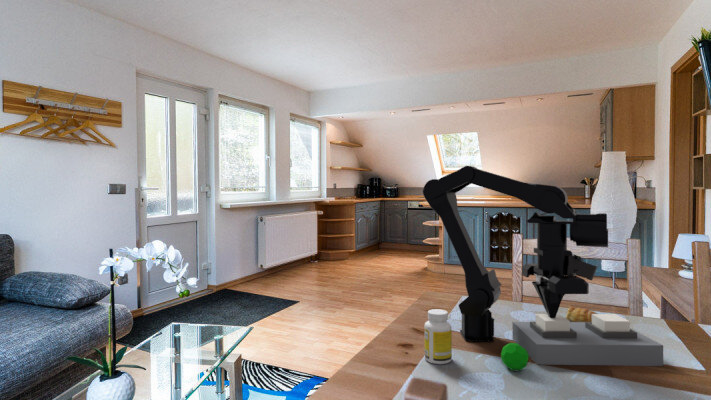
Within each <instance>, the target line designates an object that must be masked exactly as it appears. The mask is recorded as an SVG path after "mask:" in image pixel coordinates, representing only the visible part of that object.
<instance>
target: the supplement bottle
mask: <svg viewBox="0 0 711 400" xmlns="http://www.w3.org/2000/svg"><path fill="white" fill-rule="evenodd" d="M427 319H428V320H427V321H425V323H424V327H423V328H424V359H425V360H426V362H429V363H431V364H435V365H445V364H449V363H450V362H451V361H452V357H453V355H452V354H453V353H452V351H453V350H452V346H453V343H452V335H453V334H452V325H451V323H450V322H449V321H448V319H449V313H448V311H447V310H445V309H439V308H435V309H433V308H432V309H429V310H428V311H427Z"/></svg>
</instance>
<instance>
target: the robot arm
mask: <svg viewBox="0 0 711 400" xmlns="http://www.w3.org/2000/svg"><path fill="white" fill-rule="evenodd" d="M469 185H475V186H478V187H482V188H484V189H488V190H491V191H494V192H497V193H501V194H504V195H507V196H509V197H514V198H517V199H518V200H521V201H523V202H524V203H526V204H527V205H529V206H531V207H532V208H535V209H536V210H538V211H540V212H543V213H545V214H555V215H558V216H559V217H561V218H562V219H571V220H562V219H561V220H556V219H557V218H556V216H555V215H543V214H542V215H541V214H540V212H538V211H535V212H534V213H533V214H532V215H531V217H530V218H528V219H526V222H527V224H536V247H533V253H534V254H536V258H537V259H536V262H535V263H532V262H531V263H529V262H528V263H525V264H524V265H523V266H522V267H521V275H522V276H523V277H525V278H530V276H535V281H531V284H532V285H533V287H534V289H535V291H536V293H537V295H538V297H539V299H540V301H541V303H542V305H543V308H544V309H545V312H546V314H548V316H549V317H550V318H555V317H556V314H558V311H559V309H560V305H561V303H562V301H563V298H564V296H566V295H588V294H589V292H590V291H589V287H590V285H589V283H588V282H587V281H588V280H589V281H593V279H594V277H595V274H596V271H597V268H598V266H596V265H593V264H591V263H588V262H585V261H582V257H581V256H580V255H577V254H574V253H573V252H572V250H569V249H567V248H568V243H567V242H568V239H567V238H568V225H569V240H570V241H571V242H574V243H575V245H576V247H588V248H589V247H591V248H609V228H608V214H607V213H606V212H605V213H603V212H602V213H601V212H600V213H589V214H588V213H578V212H577V211H576V209H574V208H573V207H572V206H571V204H570V203H569V202H568V200H569V197H568V194H567V192H566V191H565V190H564V189H563V188H562V187H560V186H557V185H547V184H541V183H540V184H539V183H531V182H525V181H524V182H523V181H522V180H521V181H520V180H517V179H513V178H510V177H507V176H503V175H499V174H496V173H493V172H489V171H485V170H482V169H479V168H478V167H476V166H472V165H464V166H463V167H461V168H459V169H458V170H456V171H453V172H452V173H448V174H446V175H444V176H442V177H440V178H438V179H436V178H434V179H433V178H432V179H429V180H428V181H426V182H425V184H424V186H423V189H422V195H423V198H424V199H425V200H426V202H427V203H428V205H429V207H430V208H431V209H432V210H433V211H434V212H435V213H436V214H437V215H438V217H439V218H440V220H441V222H442V224H443V226H444V228H445V231H446V233H447V236H448V239H449V240H450V243H451V245H452V246H453V248H454V252H455V254H456V256H457V258H458V260H459V263H460V265H461V267H462V269H463V272H464V279H465V280H464V281H465V288H466V292H467V297H466V298H465V299H464V300H463V301H461V302H460V303H459V304H458V308H459V312H460V314H461V329H460V330H459V333H460V335H461V336H462V337H463V339H464V341H465V342H494V341H495V338H494V336H495V319H494V318H493V315H492V313H493V312H491V310H490V309H491V307H492V306H493V305H494V304H495V303H496V302H497V301H498V300H499V299H500V296H501V292H502V290H501V287H502V283H501V282H500V281H499V279H498V277H497V274H496V271H495V269H494V268H493V269H491V270H488V269H487V268H486V267H485V266H484V265H483V262H482V261H481V259H480V256H479V254H478V252H477V250H476V247H475V245H474V243H473V242H472V239H471V237H470V234H469V233H468V230H467V228H466V226H465V223H464V221H463V219H462V217H461V215H460V213H459V209H458V199H457V193H459V192H460V191H462V190H464V189H465V188H466V187H468V186H469ZM584 278H586V280H587V281H586V280H585V279H584Z"/></svg>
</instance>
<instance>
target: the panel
mask: <svg viewBox="0 0 711 400" xmlns="http://www.w3.org/2000/svg"><path fill="white" fill-rule="evenodd" d="M511 326H512V340H513V341H514V343H517V344H519V345H520V346H521V347H523V348H524V349H525V350H527V353H528V355H529V358H530V359H531V360H532V361H533V362H534V363H535V365H537V364H540V365H543V366H544V365H545V366H546V365H549V366H555V365H556V366H560V365H561V366H625V367H626V366H627V367H628V366H630V367H631V366H633V367H634V366H636V367H638V366H639V367H641V366H643V367H649V366H651V367H664V345H663V344H661V343H659V342H658V341H655V340H654V339H652V338H650V337H648V336H646V335H644V334H642V333H640V332H638V331H636V330H634V329H633V328H631V327H630V332H604V331H602V330H601V329H599V328H597V327H596V326H594V325H592V322H570V331H544V330H542V329H541V328H540V327H539V326H537V325H536V321H512V325H511Z"/></svg>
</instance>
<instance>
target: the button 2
mask: <svg viewBox="0 0 711 400" xmlns="http://www.w3.org/2000/svg"><path fill="white" fill-rule="evenodd" d="M592 325H594V326H596V327H597V328H599V329H601V330H602V331H604V332H630V328H631V321H629V320H628V319H626V318H624V317H621V316H620V315H618V314H616V313H600V314H599V313H597V314H592Z"/></svg>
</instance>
